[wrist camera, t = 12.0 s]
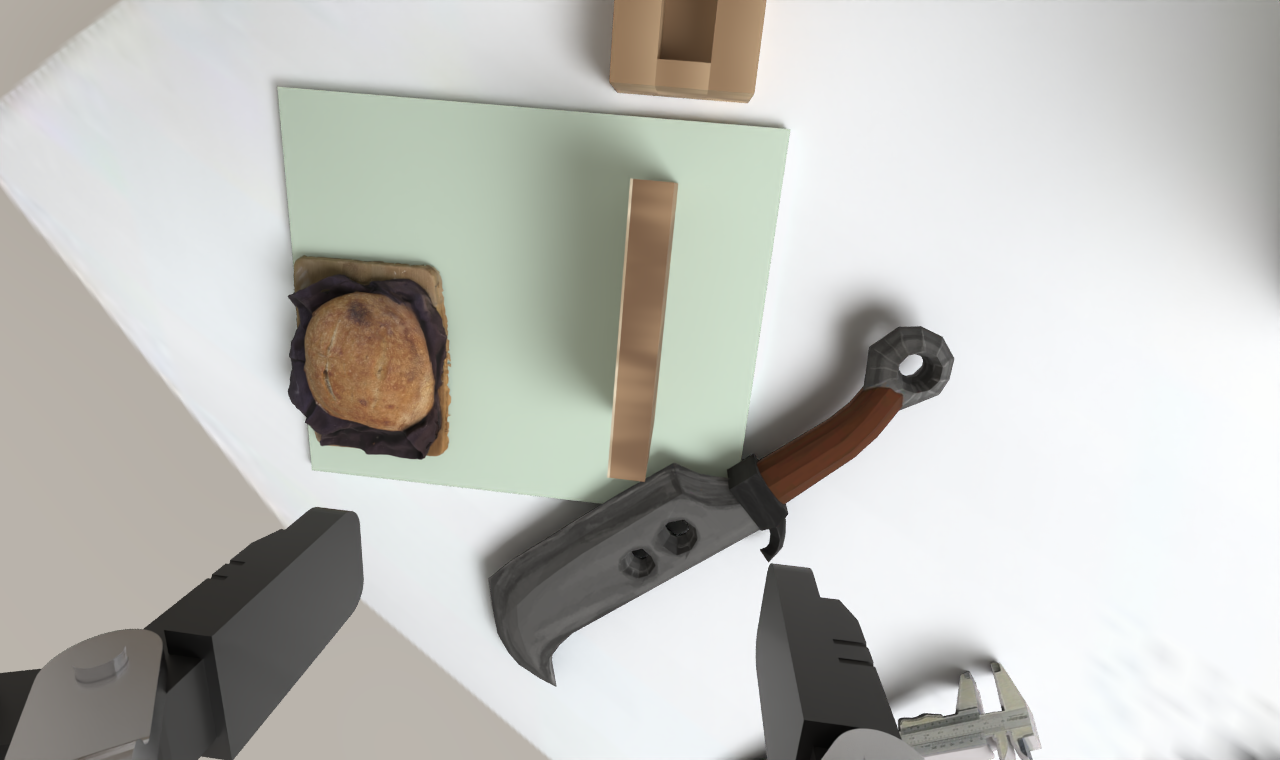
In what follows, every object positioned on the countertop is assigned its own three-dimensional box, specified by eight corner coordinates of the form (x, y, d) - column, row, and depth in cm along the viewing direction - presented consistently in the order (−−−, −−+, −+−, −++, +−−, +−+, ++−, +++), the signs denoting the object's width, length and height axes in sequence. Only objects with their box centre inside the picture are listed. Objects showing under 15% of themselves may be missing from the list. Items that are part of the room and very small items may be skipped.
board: (654, 421, 32) (678, 183, 29) (645, 481, 26) (674, 182, 22) (624, 417, 32) (644, 180, 29) (607, 477, 26) (630, 178, 22)
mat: (788, 130, 28) (790, 129, 27) (731, 513, 34) (732, 518, 34) (285, 88, 29) (277, 86, 29) (318, 465, 35) (312, 470, 35)
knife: (1022, 459, 29) (542, 708, 37) (1000, 438, 31) (550, 678, 39) (932, 311, 27) (444, 610, 35) (915, 300, 29) (458, 584, 37)
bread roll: (293, 250, 31) (242, 258, 28) (454, 267, 31) (423, 276, 27) (310, 441, 34) (266, 470, 31) (455, 459, 34) (428, 490, 30)
